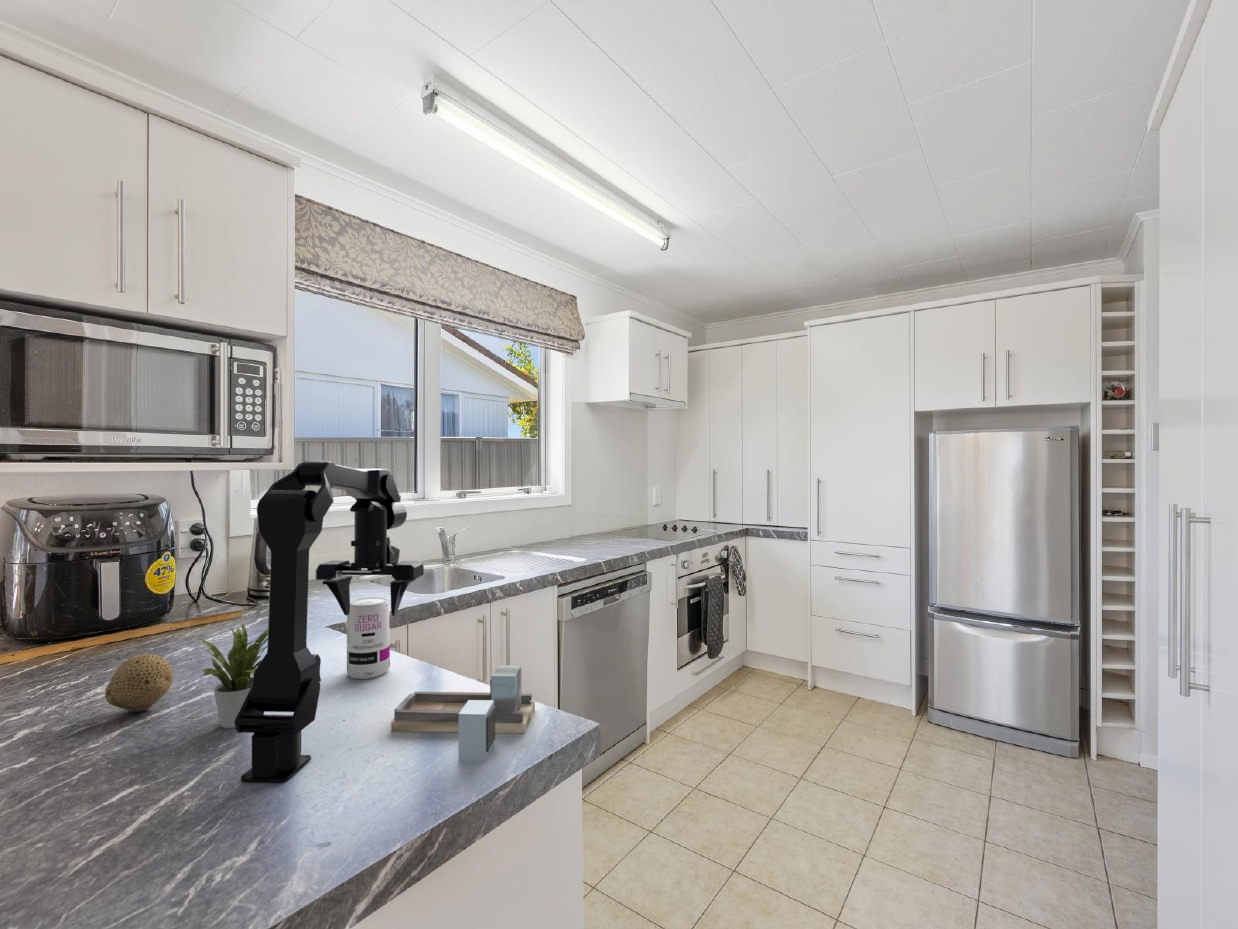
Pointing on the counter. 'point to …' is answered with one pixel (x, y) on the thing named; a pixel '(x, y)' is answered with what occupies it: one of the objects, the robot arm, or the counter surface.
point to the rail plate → (445, 706)
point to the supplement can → (368, 638)
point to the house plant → (234, 674)
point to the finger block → (476, 730)
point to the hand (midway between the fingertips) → (370, 615)
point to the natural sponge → (139, 682)
